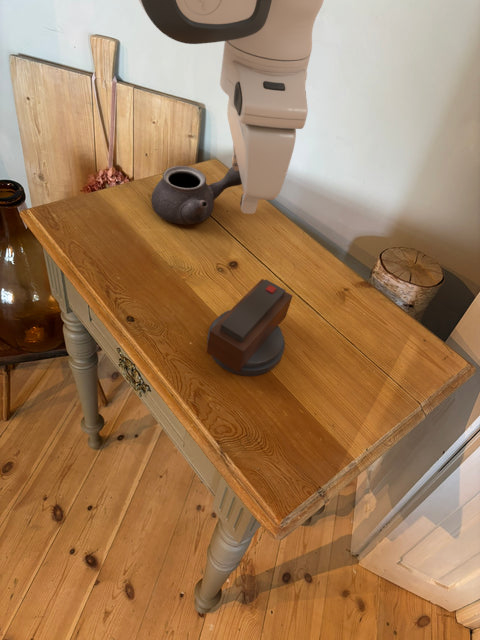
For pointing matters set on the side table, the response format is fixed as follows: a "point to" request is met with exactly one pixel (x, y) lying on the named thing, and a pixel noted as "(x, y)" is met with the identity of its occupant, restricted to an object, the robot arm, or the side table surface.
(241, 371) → the turntable base
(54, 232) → the side table surface
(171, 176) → the teapot
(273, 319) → the remote caddy
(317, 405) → the side table surface
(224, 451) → the side table surface
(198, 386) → the side table surface
